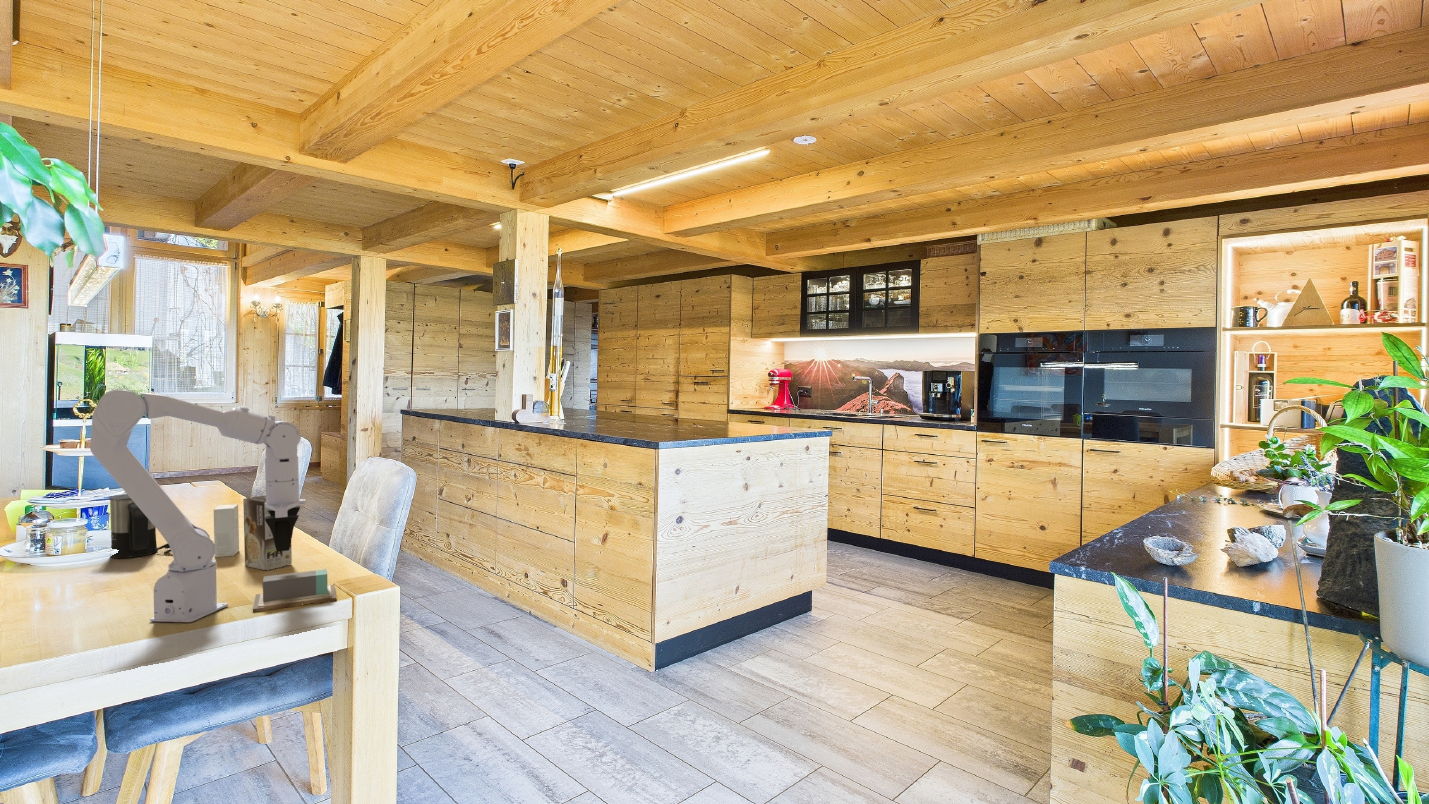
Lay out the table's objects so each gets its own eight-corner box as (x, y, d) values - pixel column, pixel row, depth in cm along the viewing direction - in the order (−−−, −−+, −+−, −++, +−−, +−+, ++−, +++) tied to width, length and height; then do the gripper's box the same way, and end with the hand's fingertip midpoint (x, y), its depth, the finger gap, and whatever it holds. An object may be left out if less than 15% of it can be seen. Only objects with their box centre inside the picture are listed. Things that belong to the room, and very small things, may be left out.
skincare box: (219, 551, 175) (218, 504, 175) (239, 550, 177) (238, 503, 177) (213, 557, 170) (212, 509, 169) (234, 556, 172) (233, 508, 171)
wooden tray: (252, 612, 132) (252, 607, 132) (255, 597, 141) (255, 593, 141) (336, 600, 139) (336, 596, 139) (334, 587, 148) (334, 583, 148)
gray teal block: (263, 602, 135) (262, 581, 135) (264, 596, 139) (263, 576, 139) (327, 593, 141) (327, 574, 141) (326, 588, 144) (326, 569, 144)
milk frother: (101, 556, 170) (99, 496, 170) (172, 542, 185) (171, 487, 184) (135, 563, 165) (133, 501, 164) (206, 548, 179) (205, 491, 179)
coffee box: (293, 564, 165) (292, 497, 164) (265, 571, 159) (264, 501, 158) (270, 559, 169) (269, 494, 168) (242, 565, 163) (241, 498, 163)
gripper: (304, 483, 136) (306, 552, 137) (305, 473, 149) (307, 536, 149) (261, 486, 133) (263, 556, 133) (266, 476, 145) (268, 540, 146)
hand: (284, 546), depth 141 cm, fingers open, 7 cm apart
